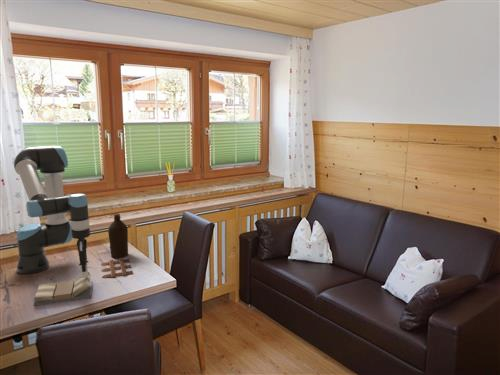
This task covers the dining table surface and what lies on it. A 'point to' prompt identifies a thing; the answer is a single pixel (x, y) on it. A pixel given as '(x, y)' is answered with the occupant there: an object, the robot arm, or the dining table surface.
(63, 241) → the robot arm
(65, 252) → the dining table surface
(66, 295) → the floor board
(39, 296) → the plank
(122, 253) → the olive oil
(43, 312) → the dining table surface
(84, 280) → the plank
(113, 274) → the decorative fence
